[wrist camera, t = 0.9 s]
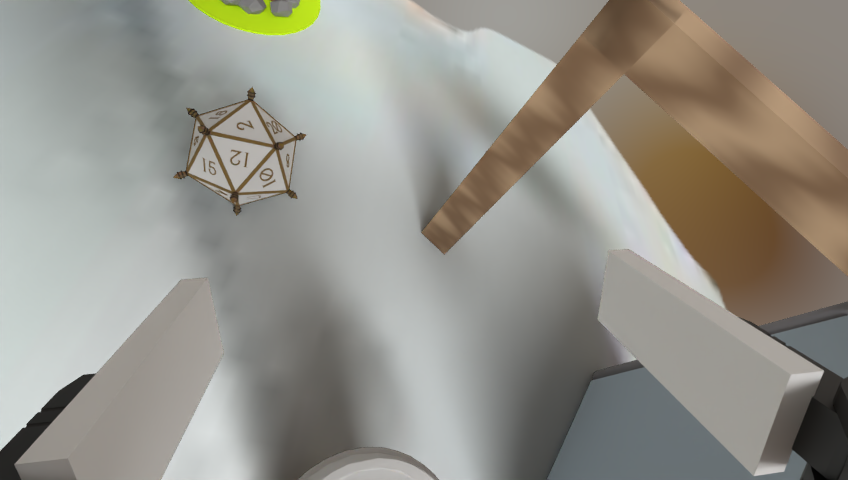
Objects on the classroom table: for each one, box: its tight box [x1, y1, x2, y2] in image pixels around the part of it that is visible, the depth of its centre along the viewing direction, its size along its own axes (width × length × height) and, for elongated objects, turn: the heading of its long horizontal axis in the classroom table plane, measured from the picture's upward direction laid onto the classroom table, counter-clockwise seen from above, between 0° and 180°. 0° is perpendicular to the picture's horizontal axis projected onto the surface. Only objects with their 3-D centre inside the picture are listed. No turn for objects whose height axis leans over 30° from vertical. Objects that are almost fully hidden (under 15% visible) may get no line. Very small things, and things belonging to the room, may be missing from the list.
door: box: [547, 302, 848, 480], centre depth 26 cm, size 19×4×20 cm, turn 141°
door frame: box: [421, 0, 848, 276], centre depth 30 cm, size 26×3×25 cm, turn 51°
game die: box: [173, 87, 306, 216], centre depth 31 cm, size 9×8×10 cm
